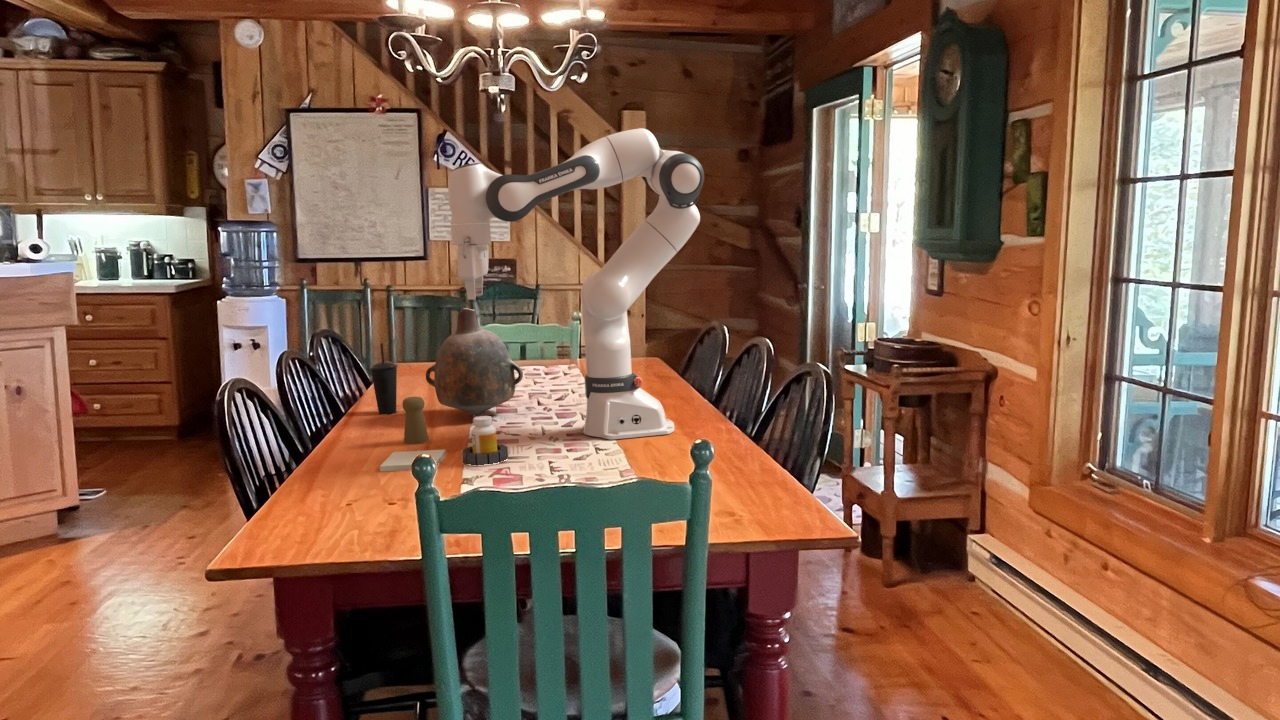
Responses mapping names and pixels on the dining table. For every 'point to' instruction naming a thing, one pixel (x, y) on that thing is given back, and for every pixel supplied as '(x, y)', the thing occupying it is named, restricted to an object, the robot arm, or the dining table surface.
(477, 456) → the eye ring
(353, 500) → the dining table surface
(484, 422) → the supplement bottle
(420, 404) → the brown pawn
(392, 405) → the drinking cup
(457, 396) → the jug
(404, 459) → the board
